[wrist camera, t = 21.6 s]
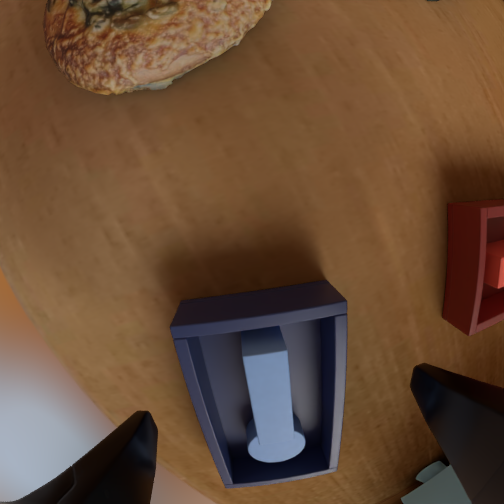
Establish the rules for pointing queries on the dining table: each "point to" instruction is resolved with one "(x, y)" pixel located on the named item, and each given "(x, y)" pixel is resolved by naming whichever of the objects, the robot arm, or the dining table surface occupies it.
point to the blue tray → (235, 384)
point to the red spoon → (494, 264)
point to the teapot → (437, 487)
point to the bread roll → (142, 39)
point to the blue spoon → (270, 397)
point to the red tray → (472, 265)
